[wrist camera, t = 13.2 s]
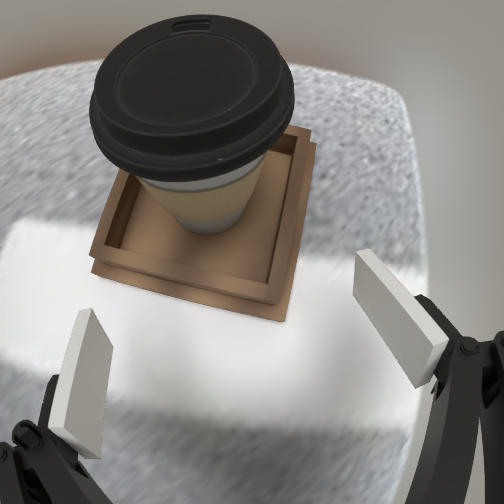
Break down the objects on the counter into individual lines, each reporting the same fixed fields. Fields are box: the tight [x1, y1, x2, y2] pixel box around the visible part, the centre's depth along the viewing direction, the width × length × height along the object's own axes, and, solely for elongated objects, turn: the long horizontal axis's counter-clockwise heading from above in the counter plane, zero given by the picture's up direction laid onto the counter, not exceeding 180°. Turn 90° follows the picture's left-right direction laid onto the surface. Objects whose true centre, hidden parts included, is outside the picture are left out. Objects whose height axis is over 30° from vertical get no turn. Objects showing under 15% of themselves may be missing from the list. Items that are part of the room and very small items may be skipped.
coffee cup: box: [89, 15, 295, 235], centre depth 18 cm, size 9×9×15 cm
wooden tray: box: [89, 125, 316, 322], centre depth 25 cm, size 16×16×4 cm
